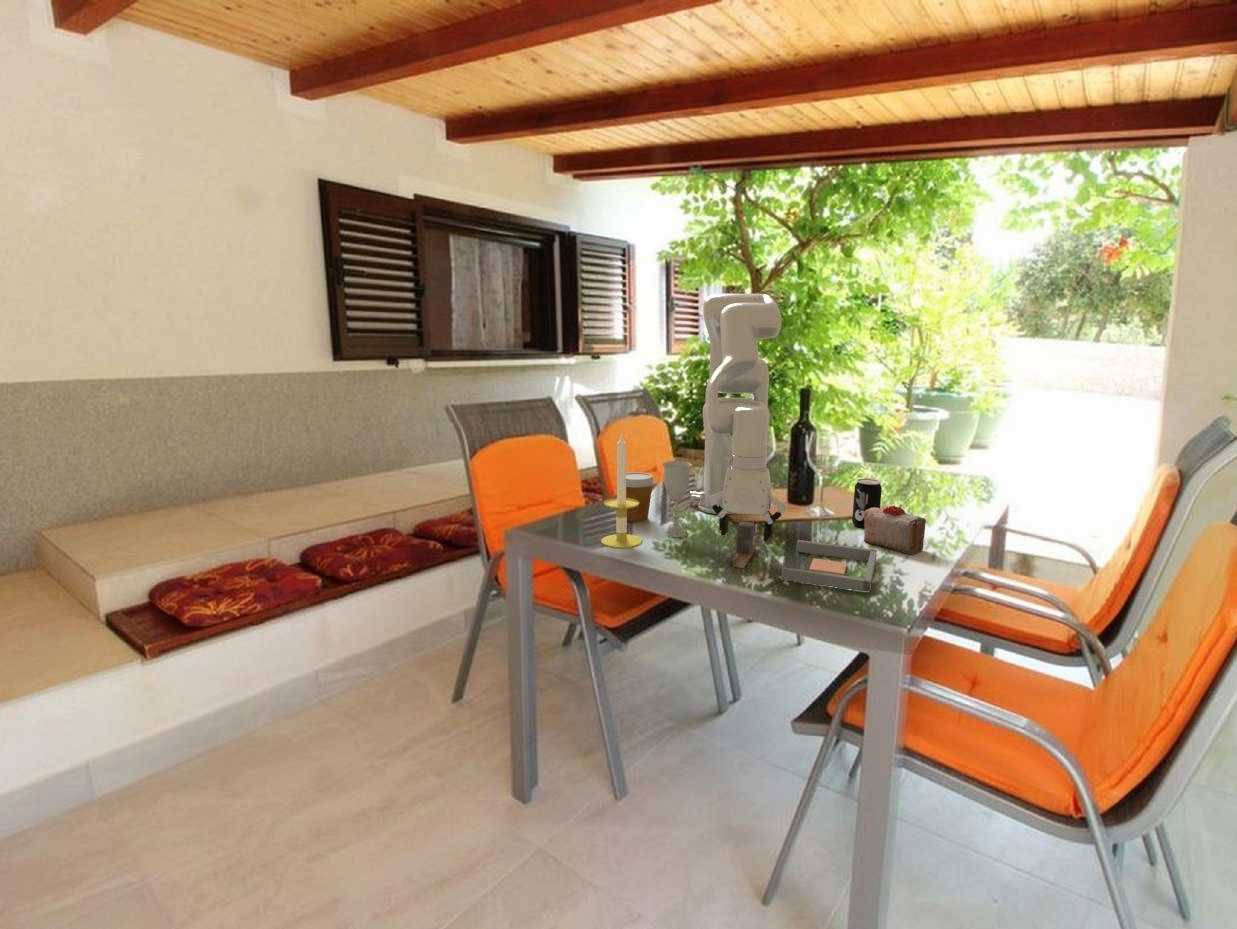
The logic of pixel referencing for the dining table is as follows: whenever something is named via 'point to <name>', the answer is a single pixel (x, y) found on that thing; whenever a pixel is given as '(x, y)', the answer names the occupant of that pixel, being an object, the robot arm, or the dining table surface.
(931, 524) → the dining table surface
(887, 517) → the food item
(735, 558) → the scraper
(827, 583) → the frame
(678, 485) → the chalice
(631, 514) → the disposable coffee cup
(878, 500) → the beverage can
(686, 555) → the dining table surface
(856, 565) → the dining table surface
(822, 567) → the tile
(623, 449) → the candle
